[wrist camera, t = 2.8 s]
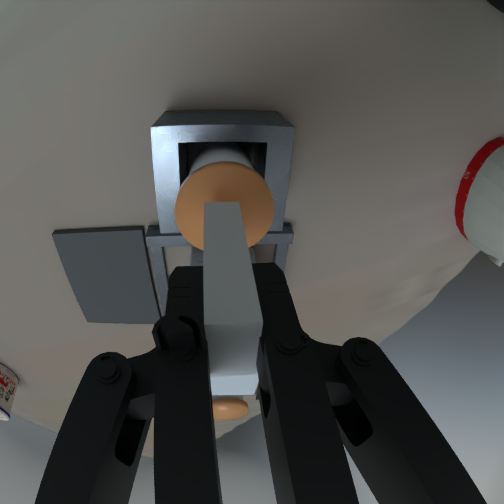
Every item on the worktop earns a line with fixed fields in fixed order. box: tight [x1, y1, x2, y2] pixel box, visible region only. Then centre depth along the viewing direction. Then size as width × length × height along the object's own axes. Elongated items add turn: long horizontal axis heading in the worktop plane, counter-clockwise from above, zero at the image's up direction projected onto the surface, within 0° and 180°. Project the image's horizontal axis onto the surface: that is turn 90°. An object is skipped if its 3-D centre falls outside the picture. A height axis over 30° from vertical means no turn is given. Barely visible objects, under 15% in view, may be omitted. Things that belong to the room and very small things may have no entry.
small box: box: [190, 246, 259, 395], centre depth 24 cm, size 8×6×10 cm
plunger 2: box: [212, 395, 249, 420], centre depth 31 cm, size 5×5×6 cm
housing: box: [145, 110, 295, 394], centre depth 26 cm, size 12×31×5 cm, turn 177°
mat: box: [52, 226, 161, 324], centre depth 27 cm, size 9×12×1 cm
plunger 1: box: [175, 142, 274, 250], centre depth 16 cm, size 5×5×6 cm
